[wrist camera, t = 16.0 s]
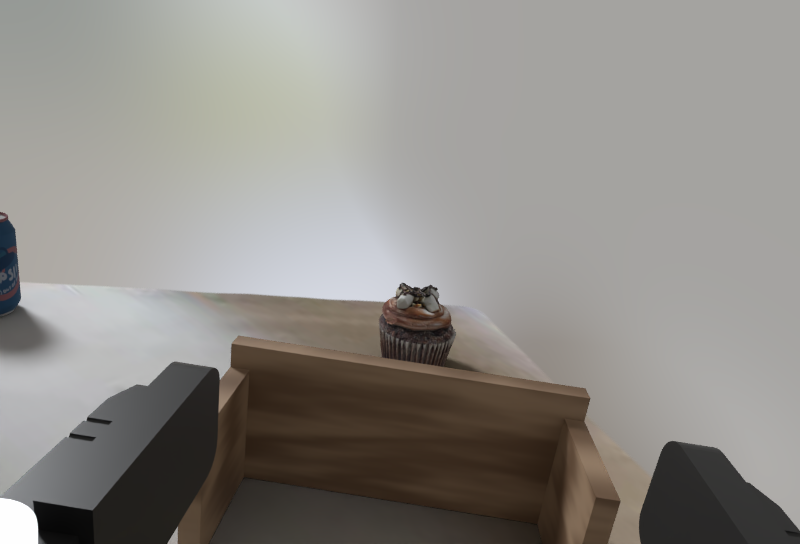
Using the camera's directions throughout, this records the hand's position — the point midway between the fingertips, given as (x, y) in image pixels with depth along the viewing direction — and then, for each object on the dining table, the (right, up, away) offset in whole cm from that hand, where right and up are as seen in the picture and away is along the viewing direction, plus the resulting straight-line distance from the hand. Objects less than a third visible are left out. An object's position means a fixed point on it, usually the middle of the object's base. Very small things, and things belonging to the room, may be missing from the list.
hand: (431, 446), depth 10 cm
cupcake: (+1, -9, +60) cm, 60 cm away
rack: (-2, -18, +28) cm, 33 cm away
